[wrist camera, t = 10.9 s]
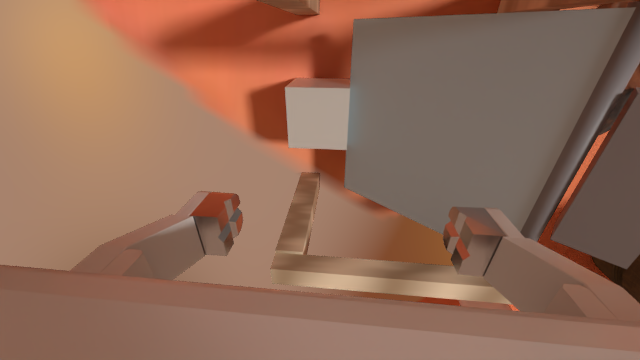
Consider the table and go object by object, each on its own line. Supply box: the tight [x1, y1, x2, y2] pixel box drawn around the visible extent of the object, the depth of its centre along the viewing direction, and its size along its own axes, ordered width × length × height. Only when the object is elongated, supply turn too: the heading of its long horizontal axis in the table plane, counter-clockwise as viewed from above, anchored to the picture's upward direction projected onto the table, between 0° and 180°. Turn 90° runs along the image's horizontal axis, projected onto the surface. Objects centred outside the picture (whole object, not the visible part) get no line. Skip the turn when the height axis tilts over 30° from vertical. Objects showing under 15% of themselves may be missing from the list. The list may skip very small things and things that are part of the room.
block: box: [285, 78, 350, 150], centre depth 23 cm, size 5×5×5 cm
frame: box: [257, 0, 635, 304], centre depth 18 cm, size 18×19×14 cm
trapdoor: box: [344, 1, 640, 269], centre depth 17 cm, size 18×14×2 cm
